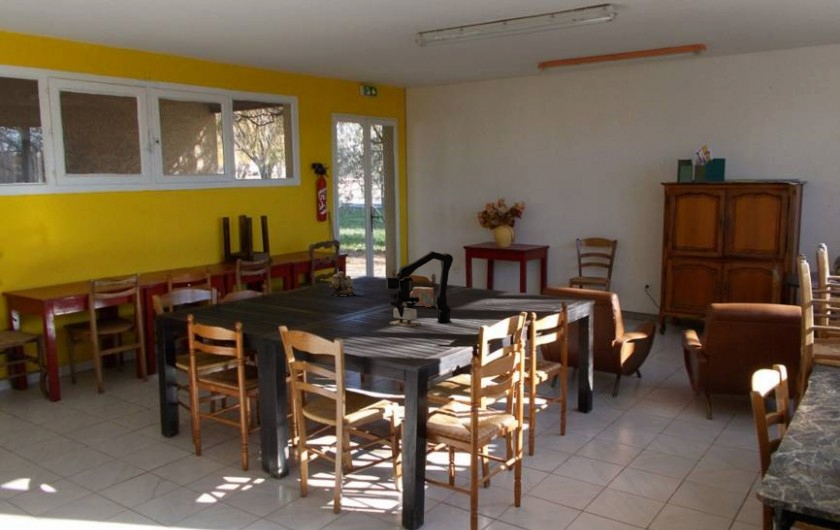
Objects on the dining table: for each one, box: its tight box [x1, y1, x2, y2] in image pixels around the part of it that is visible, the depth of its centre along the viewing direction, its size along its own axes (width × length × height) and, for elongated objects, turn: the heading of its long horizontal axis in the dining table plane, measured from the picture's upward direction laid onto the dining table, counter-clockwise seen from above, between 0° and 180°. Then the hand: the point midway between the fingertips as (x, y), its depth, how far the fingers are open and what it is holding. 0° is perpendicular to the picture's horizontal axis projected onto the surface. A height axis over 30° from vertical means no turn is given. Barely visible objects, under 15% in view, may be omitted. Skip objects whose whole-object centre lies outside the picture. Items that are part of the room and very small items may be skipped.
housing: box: [392, 307, 418, 321], centre depth 401 cm, size 12×6×5 cm, turn 50°
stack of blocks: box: [403, 286, 435, 308], centre depth 457 cm, size 21×6×12 cm, turn 74°
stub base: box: [388, 318, 422, 328], centre depth 402 cm, size 15×10×4 cm, turn 50°
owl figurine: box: [329, 271, 356, 296], centre depth 500 cm, size 18×12×17 cm, turn 105°
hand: (405, 316), depth 401 cm, fingers closed on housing, 6 cm apart
